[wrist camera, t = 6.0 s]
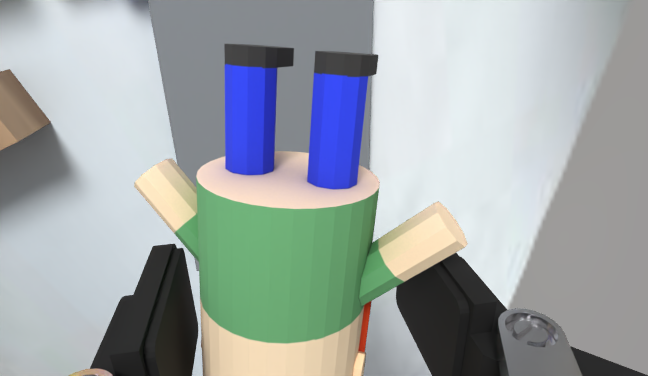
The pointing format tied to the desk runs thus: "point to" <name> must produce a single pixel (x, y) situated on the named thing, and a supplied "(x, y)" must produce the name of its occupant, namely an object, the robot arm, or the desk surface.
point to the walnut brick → (17, 111)
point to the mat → (254, 29)
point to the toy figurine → (291, 225)
